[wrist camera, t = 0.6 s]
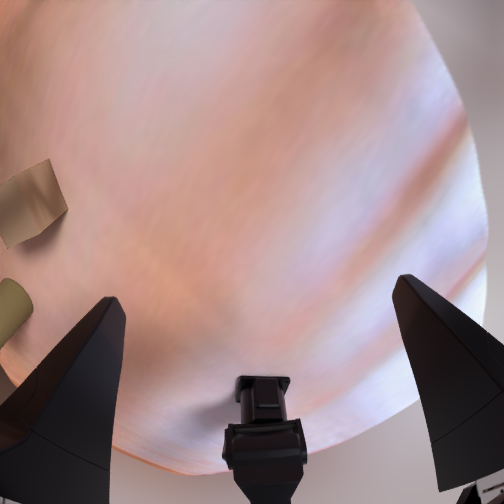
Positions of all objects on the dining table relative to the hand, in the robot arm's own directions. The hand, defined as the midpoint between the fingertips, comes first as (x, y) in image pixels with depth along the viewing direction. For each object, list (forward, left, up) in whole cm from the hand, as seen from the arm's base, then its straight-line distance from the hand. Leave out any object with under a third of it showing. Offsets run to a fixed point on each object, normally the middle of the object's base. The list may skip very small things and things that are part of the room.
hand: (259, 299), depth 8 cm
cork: (-17, +28, -15) cm, 35 cm away
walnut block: (-3, +19, -14) cm, 24 cm away
